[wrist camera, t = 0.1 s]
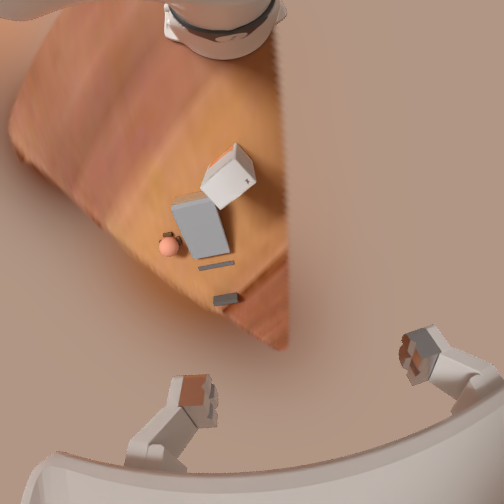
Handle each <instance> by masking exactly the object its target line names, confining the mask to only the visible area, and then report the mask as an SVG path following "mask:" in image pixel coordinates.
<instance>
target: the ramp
mask: <svg viewBox="0 0 504 504" xmlns="http://www.w3.org/2000/svg"><path fill="white" fill-rule="evenodd" d="M171 211H172V214H173V216H174V218H175V220H176V223H177V225H178V227H179V229H180V231H181V234H182V236H183V238H184V240H185V242H186V244H187V246H188V249H189V251H190V253H191V255H192V257H193V259H199V258H204V257H209V256H214V255H220V254H225V253H230V247H229V244H228V241H227V238H226V234H225V231H224V228H223V225H222V222H221V219H220V216H219V212H218V209H217V206H216V205H215V204H214V203H213V202H212V201H211V200H210V199H209V198H208V196H207V195H206V194H205V193H204V192H203V191H200V192H196V193H192V194H187V195H183V196H179V197H175V199H174V201H173V202H172V208H171Z"/></svg>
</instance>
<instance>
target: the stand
mask: <svg viewBox="0 0 504 504" xmlns="http://www.w3.org/2000/svg"><path fill="white" fill-rule="evenodd" d="M167 236H172V232H168V233H163V237H167ZM176 239H177V241H178V244H179V245H182V242H181V239H180V236H177V238H176ZM160 242H161V240H160V241H159V243H160ZM177 252H178V251H177Z"/></svg>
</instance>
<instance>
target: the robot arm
mask: <svg viewBox="0 0 504 504" xmlns="http://www.w3.org/2000/svg"><path fill="white" fill-rule="evenodd" d="M92 1H99V0H0V18H3V19H7V20H13V21H29V20H33V19H36V18H39V17H41V16H44V15H46V14H49V13H52V12H54V11H57V10H60V9H63V8H66V7H70V6H74V5H78V4H82V3H87V2H92ZM146 1H155V2H161V3H166V4H164V11H165V28H164V33H165V36H166V37H167V38H168V39H170V40H172V41H176V42H181V43H183V44H185V45H186V46H188V47H189V48H190V49H191V50H193V51H194V52H196V53H197V54H199V55H202V56H204V57H207V58H211V59H218V60H228V59H235V58H239V57H242V56H245V55H247V54H250V53H251V52H253V51H255V50H256V49H258V48H259V47H260V46H261V45H262V44H263V43H264V42H265V41H266V39H267V38H268V36H269V35H270V33H271V31H272V29H273V27H274V26H275V25H276V24H278V23H279V22H280V21H282V20H283V19H284V18H285V17H286V15H287V10H286V8H285V6H284V4H283V2H282V0H146ZM401 341H402V343H403V345H402V346H401V347H400V349H399V360H400V363H401V365H402V367H403V368H404V369H406V370H408V372H407V377H408V379H409V381H410V382H411V384H412V386H414V385H417V384H420V383H422V382H425V381H428V380H429V382H430V383H432V384H433V385H435V386H436V387H438V388H439V389H441V390H442V391H444V392H445V393H447V394H448V395H450V396H451V397H453V398H454V399H456V400H457V401H456V403H455V404H454V406H453V407H452V410H451V412H452V416H450V417H448V418H446V419H444V420H442V421H440V422H438V423H436V424H434V425H432V426H430V427H428V428H425V429H423V430H421V431H418V432H416V433H413V434H411V435H408V436H406V437H403V438H401V439H398V440H396V441H393V442H390V443H387V444H384V445H381V446H378V447H375V448H372V449H369V450H366V451H362V452H359V453H355V454H352V455H348V456H344V457H340V458H336V459H331V460H327V461H322V462H317V463H313V464H308V465H301V466H296V467H289V468H282V469H274V470H265V471H256V472H255V471H254V472H240V473H187V467H186V466H185V465H183V464H182V463H181V462H180V461H179V460H178V459H177V458H178V457H179V455H180V454H181V453H182V451H183V450H184V448H185V447H186V446H187V444H188V443H189V441H190V440H191V439H192V437H193V436H194V434H195V433H196V431H197V430H198V429H197V428H211V427H217V419H218V414H217V412H216V410H215V409H216V408H217V406H218V393H217V389H216V387H215V386H214V385H213V384H211V381H212V379H211V377H210V375H209V374H202V375H183V376H174V377H173V378H172V380H171V385H170V390H169V395H168V400H167V405H166V407H163V408H162V409H161V410H160V411H159V412H158V413H157V414H156V415H155V416H154V417H153V418H152V419H151V420H150V421H149V422H148V423H147V424H146V425H145V426H144V427H143V428H142V429H141V430H140V431H139V432H138V433H137V434H136V435H135V436H134V437H133V438H132V439H131V440H130V441H129V446H128V450H127V454H126V458H125V463H124V466H120V465H114V464H109V463H104V462H99V461H95V460H91V459H87V458H82V457H79V456H76V455H72V454H69V453H66V452H61V451H57V452H55V453H53V454H51V455H50V456H48V457H47V458H45V459H44V460H43V461H42V462H41V463H39V464H38V465H37V466H36V467H35V468H34V469H33V471H32V473H31V475H30V477H29V479H28V482H27V485H26V488H25V491H24V493H23V497H22V501H21V504H504V380H503V378H502V377H501V376H500V374H499V373H498V371H497V370H496V368H495V367H494V365H493V364H490V363H488V362H486V361H484V360H482V359H479V358H477V357H475V356H473V355H470V354H469V353H466V352H464V351H462V350H459V349H457V348H455V347H453V348H451V346H450V345H449V344H448V342H447V341H446V339H445V338H444V337H443V335H442V334H441V333H440V331H439V330H438V329H437V327H436V326H435V325H433V324H432V325H430V326H427V327H424V328H420V329H418V330H415V331H412V332H409V333H406V334H404V335H403V336H402V340H401Z"/></svg>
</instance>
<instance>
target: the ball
mask: <svg viewBox="0 0 504 504" xmlns="http://www.w3.org/2000/svg"><path fill="white" fill-rule="evenodd" d="M159 249H160V252H161V253H162V254H163V255H164V256H167V257H171V256H174V255H175V254H176V253H177V251H178V249H179V245H178V242H177V240H176V239H174V238H173V237H165V238H163V239H162V240H161V242H160V244H159Z"/></svg>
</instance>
